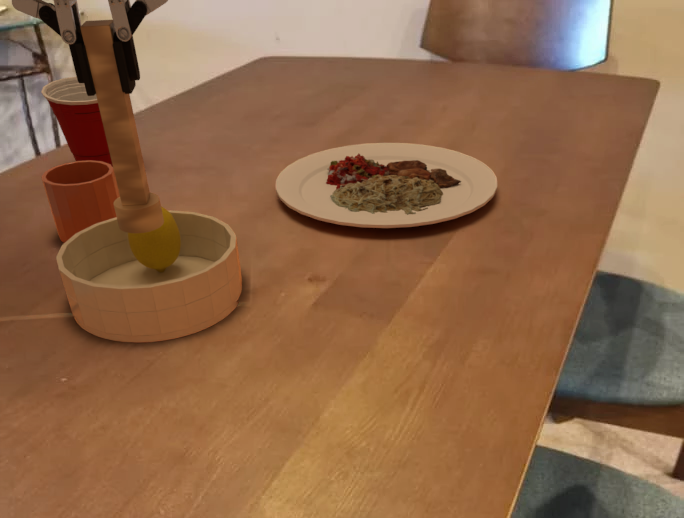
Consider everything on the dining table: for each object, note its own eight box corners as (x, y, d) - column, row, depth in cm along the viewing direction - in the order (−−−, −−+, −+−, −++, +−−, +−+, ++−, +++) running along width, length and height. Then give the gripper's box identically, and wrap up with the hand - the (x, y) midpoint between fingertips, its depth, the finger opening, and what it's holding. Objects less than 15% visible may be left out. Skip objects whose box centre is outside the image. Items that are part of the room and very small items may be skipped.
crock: (54, 252, 88) (34, 187, 83) (68, 224, 94) (50, 162, 89) (122, 248, 88) (106, 183, 83) (132, 221, 94) (117, 158, 89)
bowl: (55, 348, 72) (37, 293, 68) (90, 264, 85) (76, 215, 81) (240, 336, 72) (232, 282, 68) (244, 255, 86) (238, 206, 82)
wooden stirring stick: (115, 234, 70) (64, 29, 58) (122, 216, 73) (76, 19, 62) (161, 232, 70) (119, 27, 59) (166, 213, 73) (127, 16, 62)
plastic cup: (86, 191, 103) (62, 101, 95) (52, 172, 109) (27, 85, 101) (152, 171, 108) (135, 84, 100) (116, 154, 114) (97, 70, 106)
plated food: (455, 256, 84) (458, 228, 82) (235, 218, 94) (232, 192, 92) (520, 169, 105) (524, 145, 102) (333, 146, 115) (332, 123, 112)
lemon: (171, 286, 79) (156, 215, 74) (127, 279, 80) (110, 209, 75) (194, 264, 83) (182, 194, 78) (152, 258, 84) (137, 189, 79)
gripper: (169, -193, 55) (206, 75, 67) (-47, -184, 54) (30, 84, 66) (157, -195, 49) (200, 97, 61) (-84, -186, 48) (8, 108, 61)
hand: (111, 88), depth 64 cm, fingers closed on wooden stirring stick, 2 cm apart
